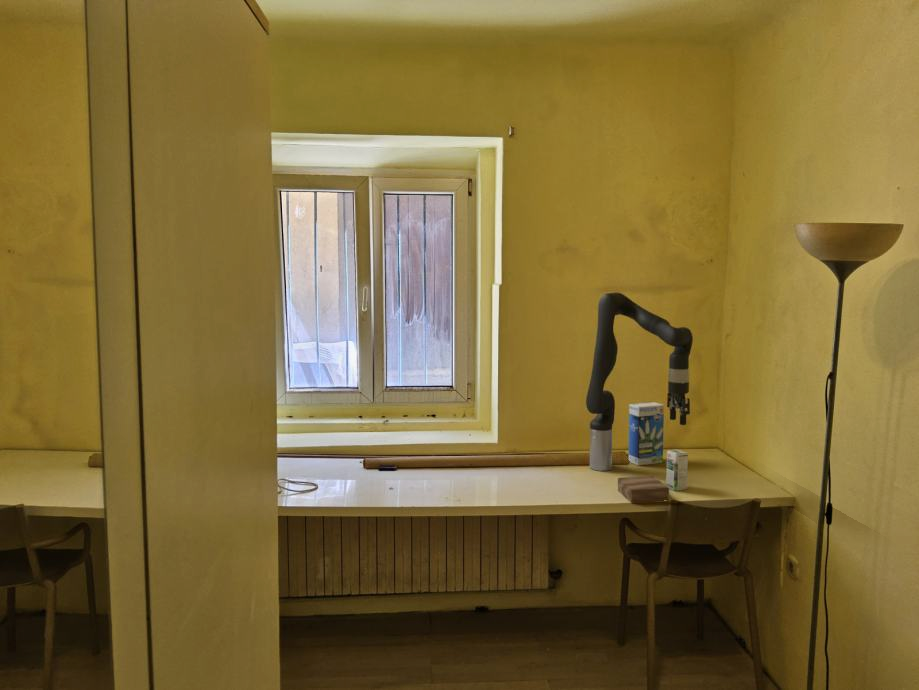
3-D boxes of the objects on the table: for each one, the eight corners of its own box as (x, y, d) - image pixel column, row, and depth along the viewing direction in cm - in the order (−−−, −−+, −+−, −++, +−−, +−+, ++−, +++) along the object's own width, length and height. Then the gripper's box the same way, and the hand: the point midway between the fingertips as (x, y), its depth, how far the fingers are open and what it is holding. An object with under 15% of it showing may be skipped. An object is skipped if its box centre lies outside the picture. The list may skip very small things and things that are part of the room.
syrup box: (665, 487, 251) (666, 450, 249) (677, 485, 253) (678, 448, 251) (675, 491, 246) (675, 454, 244) (687, 489, 248) (688, 452, 246)
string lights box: (637, 466, 278) (638, 407, 276) (627, 461, 285) (628, 403, 283) (663, 462, 283) (664, 404, 280) (653, 458, 290) (653, 401, 287)
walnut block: (617, 490, 248) (618, 477, 247) (653, 488, 249) (653, 476, 249) (631, 503, 234) (631, 489, 233) (668, 501, 235) (668, 487, 235)
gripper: (661, 377, 251) (660, 418, 253) (677, 383, 237) (676, 427, 239) (679, 376, 252) (678, 417, 254) (697, 382, 238) (696, 426, 240)
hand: (677, 422), depth 246 cm, fingers open, 8 cm apart
